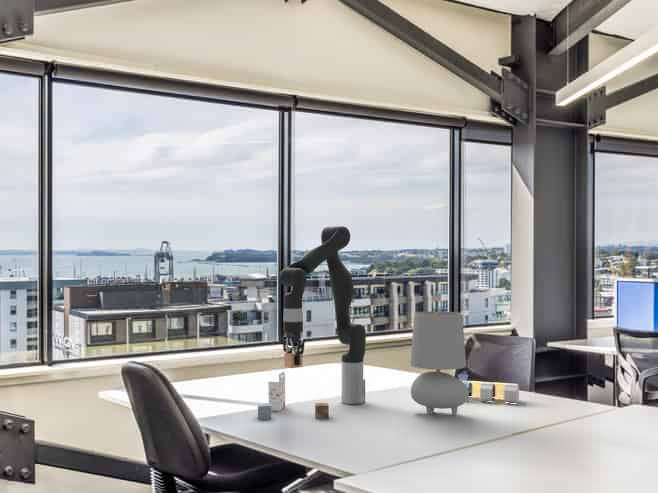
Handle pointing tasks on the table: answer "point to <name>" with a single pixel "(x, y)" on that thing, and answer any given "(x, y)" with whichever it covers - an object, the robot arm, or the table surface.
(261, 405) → the slate block
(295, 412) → the table surface
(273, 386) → the ink cartridge box
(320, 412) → the walnut block
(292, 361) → the terracotta block
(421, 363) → the table lamp
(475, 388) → the diorama
